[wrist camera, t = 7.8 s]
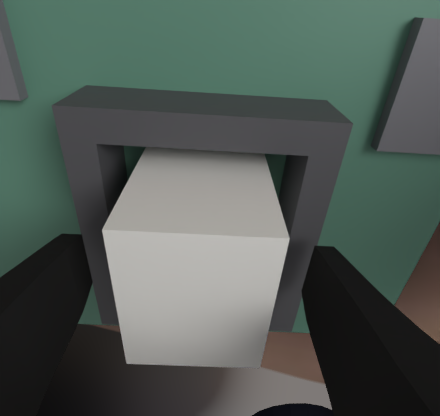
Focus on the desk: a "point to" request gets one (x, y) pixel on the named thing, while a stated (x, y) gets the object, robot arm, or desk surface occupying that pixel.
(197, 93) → the board
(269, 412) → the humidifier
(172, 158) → the plug block
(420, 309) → the desk surface
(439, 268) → the desk surface
